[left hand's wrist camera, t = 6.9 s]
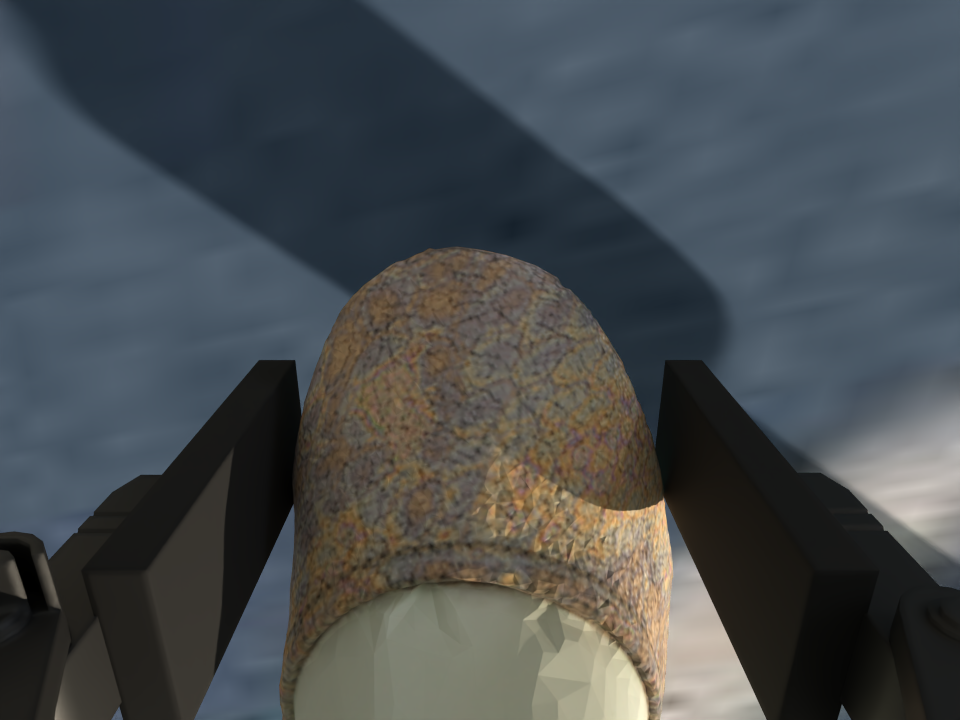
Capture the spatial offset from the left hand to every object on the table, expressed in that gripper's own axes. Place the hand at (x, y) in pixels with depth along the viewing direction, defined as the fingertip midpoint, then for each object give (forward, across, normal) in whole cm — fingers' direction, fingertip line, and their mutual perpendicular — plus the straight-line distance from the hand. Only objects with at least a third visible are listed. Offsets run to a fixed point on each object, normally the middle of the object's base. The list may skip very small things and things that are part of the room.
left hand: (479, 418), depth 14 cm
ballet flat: (0, 0, -8) cm, 8 cm away
